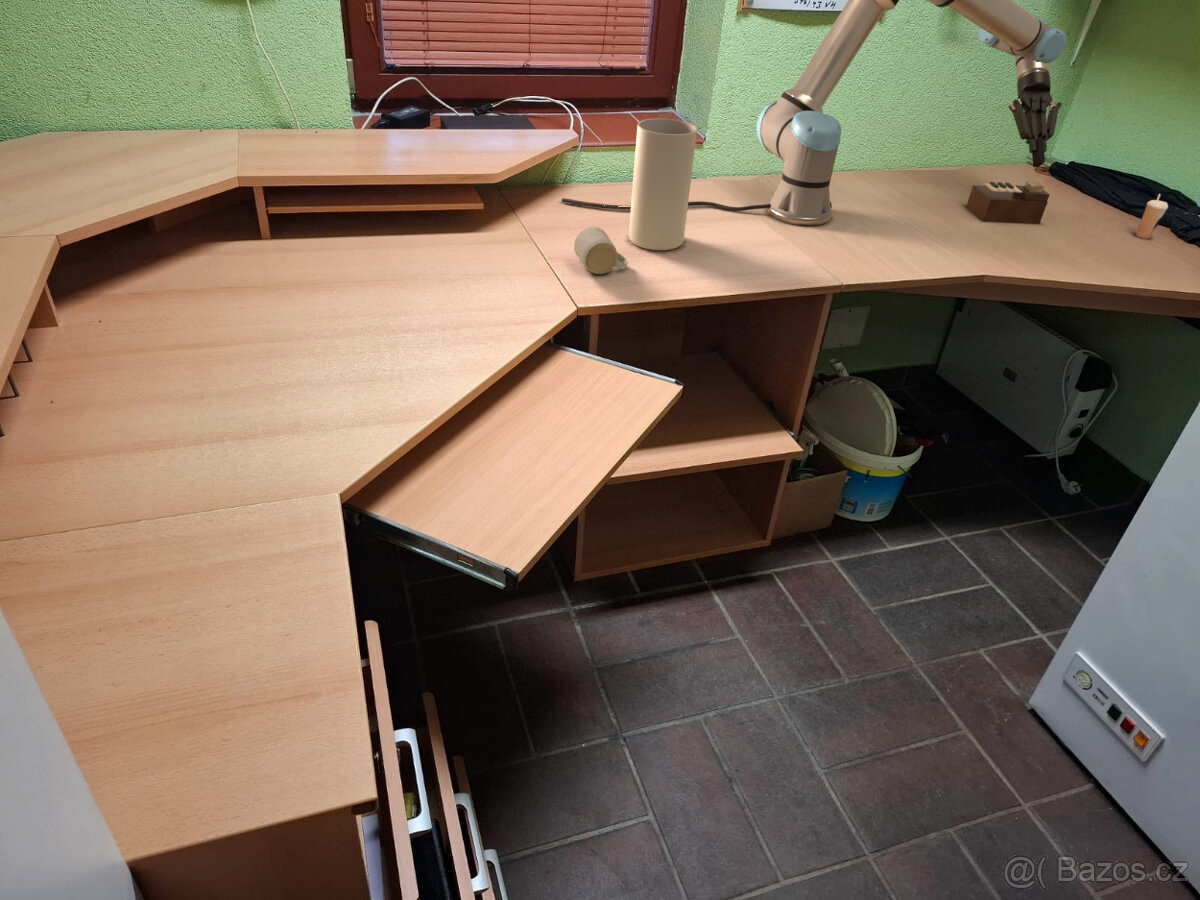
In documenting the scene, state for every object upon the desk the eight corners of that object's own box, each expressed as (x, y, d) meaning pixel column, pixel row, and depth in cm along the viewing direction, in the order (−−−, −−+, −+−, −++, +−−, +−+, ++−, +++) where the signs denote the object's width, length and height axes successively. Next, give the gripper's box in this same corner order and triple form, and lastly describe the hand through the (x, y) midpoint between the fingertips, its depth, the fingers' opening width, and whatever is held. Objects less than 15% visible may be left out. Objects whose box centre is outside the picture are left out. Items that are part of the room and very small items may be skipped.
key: (1028, 193, 206) (1031, 185, 204) (1023, 189, 208) (1026, 181, 207) (1041, 193, 206) (1044, 186, 205) (1035, 189, 208) (1038, 182, 207)
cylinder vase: (694, 242, 185) (709, 128, 170) (660, 256, 177) (672, 138, 162) (651, 226, 191) (662, 115, 177) (617, 239, 184) (625, 124, 169)
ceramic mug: (585, 278, 166) (587, 242, 161) (572, 262, 172) (574, 227, 167) (632, 274, 169) (636, 239, 164) (619, 258, 175) (622, 224, 171)
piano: (983, 221, 208) (993, 192, 203) (965, 206, 216) (975, 178, 212) (1039, 223, 209) (1050, 194, 204) (1020, 208, 217) (1030, 180, 213)
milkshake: (1151, 234, 207) (1170, 195, 201) (1153, 241, 203) (1172, 201, 197) (1132, 230, 208) (1149, 192, 202) (1133, 237, 204) (1151, 198, 198)
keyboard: (992, 191, 204) (993, 188, 203) (983, 184, 208) (984, 181, 207) (1022, 192, 204) (1023, 189, 204) (1012, 185, 208) (1014, 182, 208)
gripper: (1048, 88, 212) (1054, 173, 208) (1000, 85, 211) (1005, 170, 208) (1066, 71, 205) (1073, 158, 201) (1017, 68, 204) (1022, 155, 200)
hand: (1039, 164), depth 204 cm, fingers closed
